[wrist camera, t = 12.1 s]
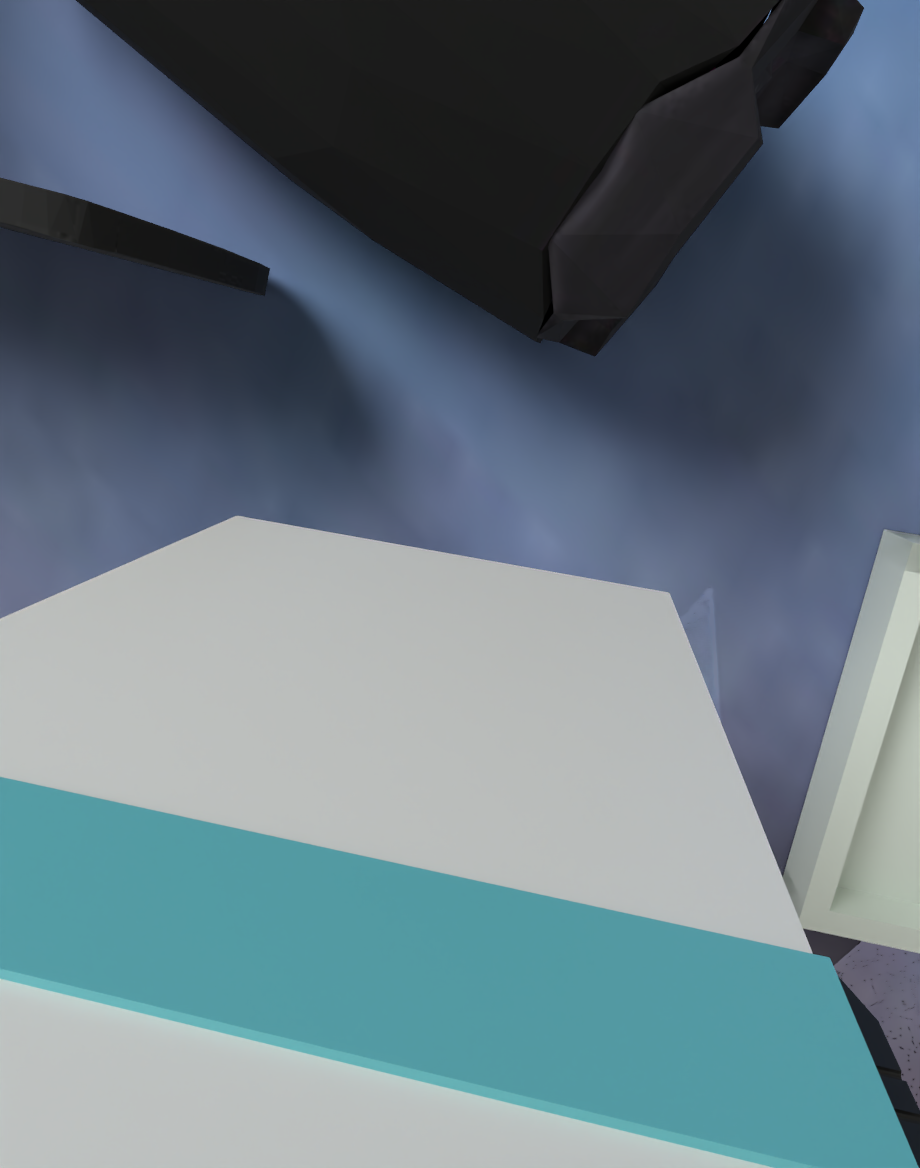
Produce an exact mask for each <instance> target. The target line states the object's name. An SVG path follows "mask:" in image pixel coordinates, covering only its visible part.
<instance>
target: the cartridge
mask: <svg viewBox="0 0 920 1168" xmlns="http://www.w3.org/2000/svg"><path fill="white" fill-rule="evenodd" d="M0 1168H919V1167H918V1165H917V1162H916V1160H915V1158H914V1155H913V1153H912V1151H911V1148H910V1146H909V1144H908V1141H907V1139H906V1136H905V1134H904V1132H903V1129H902V1127H901V1125H900V1122H899V1120H898V1118H897V1115H896V1113H895V1110H894V1108H893V1106H892V1103H891V1101H890V1099H889V1096H888V1094H887V1092H886V1089H885V1087H884V1085H883V1082H882V1080H881V1077H880V1075H879V1073H878V1070H877V1068H876V1066H875V1063H874V1061H873V1059H872V1056H871V1054H870V1051H869V1049H868V1047H867V1044H866V1042H865V1040H864V1037H863V1035H862V1033H861V1030H860V1028H859V1026H858V1023H857V1021H856V1018H855V1016H854V1014H853V1011H852V1009H851V1007H850V1004H849V1002H848V1000H847V997H846V995H845V992H844V990H843V988H842V985H841V983H840V981H839V978H838V976H837V974H836V971H835V969H834V967H833V964H832V962H831V959H830V958H829V957H825V956H820V955H816V954H813V953H812V950H811V948H810V945H809V943H808V940H807V938H806V935H805V933H804V930H803V928H802V925H801V923H800V920H799V918H798V915H797V913H796V910H795V908H794V905H793V903H792V900H791V898H790V895H789V893H788V890H787V887H786V885H785V882H784V880H783V877H782V875H781V872H780V870H779V867H778V865H777V862H776V860H775V857H774V855H773V852H772V850H771V847H770V845H769V842H768V840H767V837H766V835H765V832H764V830H763V827H762V825H761V822H760V820H759V817H758V815H757V812H756V810H755V807H754V805H753V802H752V800H751V797H750V794H749V792H748V789H747V787H746V784H745V782H744V779H743V777H742V774H741V772H740V769H739V767H738V764H737V762H736V759H735V757H734V754H733V752H732V749H731V747H730V744H729V742H728V739H727V737H726V734H725V732H724V729H723V727H722V724H721V722H720V719H719V717H718V714H717V712H716V709H715V707H714V704H713V701H712V699H711V696H710V694H709V691H708V689H707V686H706V684H705V681H704V679H703V676H702V674H701V671H700V669H699V666H698V664H697V661H696V659H695V656H694V654H693V651H692V649H691V646H690V644H689V641H688V639H687V636H686V634H685V631H684V629H683V626H682V624H681V621H680V619H679V616H678V614H677V611H676V608H675V606H674V603H673V601H672V598H671V596H670V593H668V592H662V591H657V590H651V589H646V588H640V587H634V586H629V585H623V584H617V583H612V582H606V581H601V580H595V579H589V578H584V577H578V576H573V575H567V574H561V573H556V572H550V571H545V570H539V569H533V568H528V567H522V566H517V565H511V564H505V563H500V562H494V561H489V560H483V559H477V558H472V557H466V556H460V555H455V554H449V553H444V552H438V551H432V550H427V549H421V548H416V547H410V546H404V545H399V544H393V543H388V542H382V541H376V540H371V539H365V538H360V537H354V536H348V535H343V534H337V533H331V532H326V531H320V530H315V529H309V528H303V527H298V526H292V525H287V524H281V523H275V522H270V521H264V520H259V519H253V518H247V517H242V516H235V517H232V518H230V519H228V520H225V521H223V522H221V523H219V524H216V525H214V526H212V527H209V528H207V529H205V530H203V531H200V532H198V533H196V534H193V535H191V536H189V537H186V538H184V539H182V540H180V541H177V542H175V543H173V544H170V545H168V546H166V547H164V548H161V549H159V550H157V551H154V552H152V553H150V554H147V555H145V556H143V557H141V558H138V559H136V560H134V561H131V562H129V563H127V564H125V565H122V566H120V567H118V568H115V569H113V570H111V571H109V572H106V573H104V574H102V575H99V576H97V577H95V578H92V579H90V580H88V581H86V582H83V583H81V584H79V585H76V586H74V587H72V588H70V589H67V590H65V591H63V592H60V593H58V594H56V595H53V596H51V597H49V598H47V599H44V600H42V601H40V602H37V603H35V604H33V605H31V606H28V607H26V608H24V609H21V610H19V611H17V612H14V613H12V614H10V615H8V616H5V617H3V618H1V619H0Z"/></svg>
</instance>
